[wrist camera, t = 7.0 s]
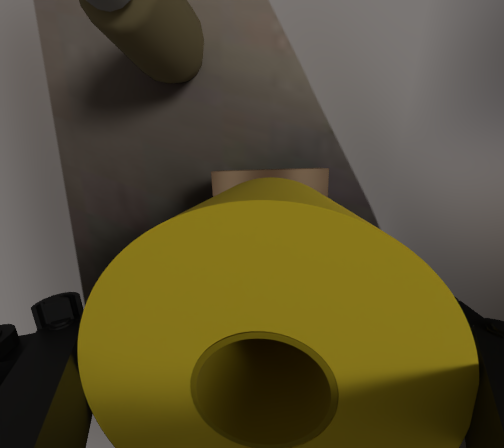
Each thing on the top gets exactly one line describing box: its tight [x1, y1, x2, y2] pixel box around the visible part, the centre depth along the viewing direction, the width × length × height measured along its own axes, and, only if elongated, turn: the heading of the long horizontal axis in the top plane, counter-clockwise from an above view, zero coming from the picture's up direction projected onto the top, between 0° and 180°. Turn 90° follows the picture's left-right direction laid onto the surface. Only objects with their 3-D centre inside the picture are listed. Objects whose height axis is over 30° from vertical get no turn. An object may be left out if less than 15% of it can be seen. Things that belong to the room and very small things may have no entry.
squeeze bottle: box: [79, 0, 204, 83], centre depth 20 cm, size 8×8×18 cm
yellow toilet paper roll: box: [77, 177, 479, 448], centre depth 11 cm, size 10×10×9 cm
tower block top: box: [211, 168, 329, 198], centre depth 26 cm, size 11×11×4 cm
